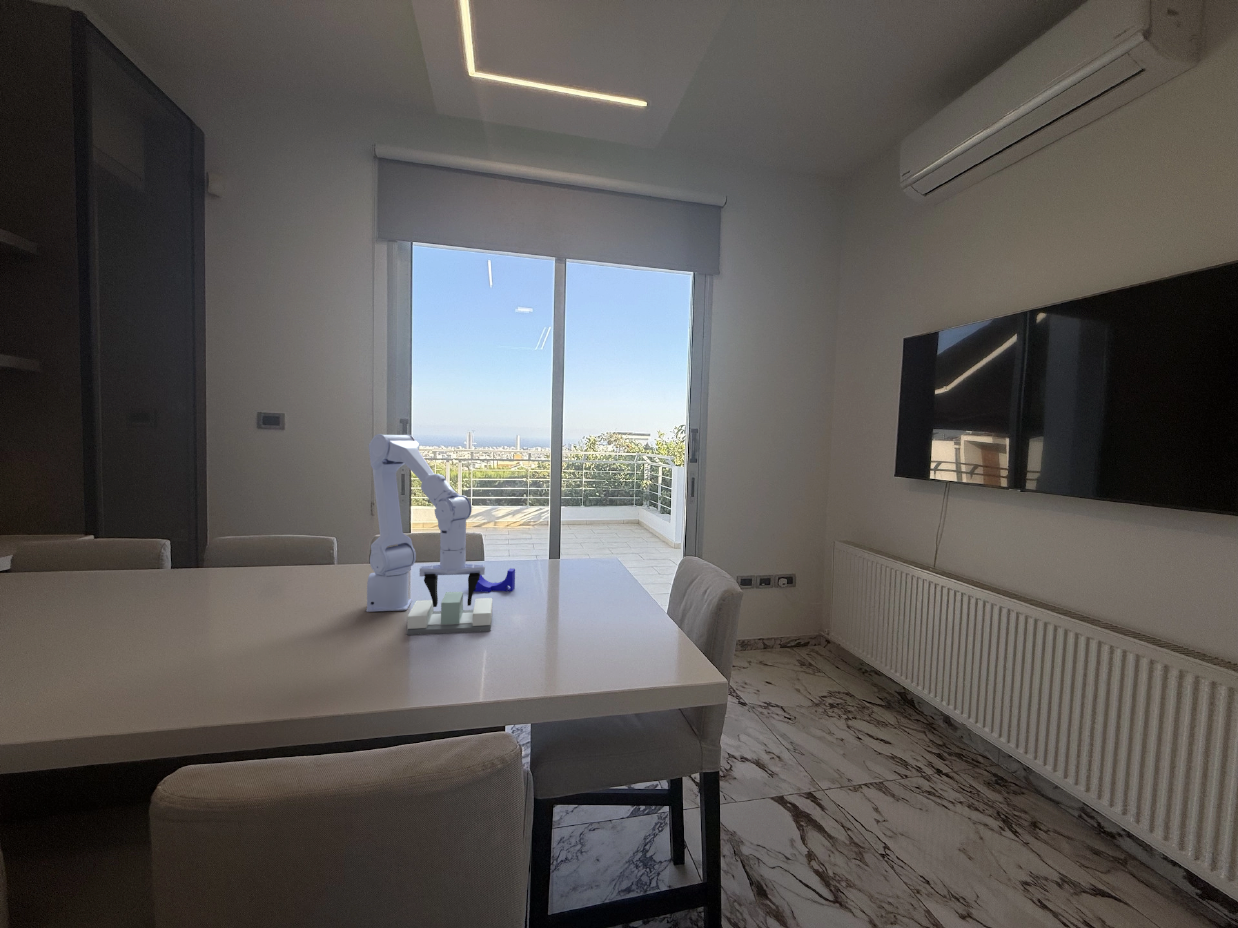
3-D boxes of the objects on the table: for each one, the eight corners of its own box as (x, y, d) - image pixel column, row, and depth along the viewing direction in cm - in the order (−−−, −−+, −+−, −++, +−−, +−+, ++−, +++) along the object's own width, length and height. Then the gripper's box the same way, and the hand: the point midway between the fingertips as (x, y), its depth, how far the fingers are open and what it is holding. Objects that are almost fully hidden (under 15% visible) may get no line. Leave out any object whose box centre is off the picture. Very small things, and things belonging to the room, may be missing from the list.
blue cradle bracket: (469, 591, 148) (469, 570, 148) (474, 587, 153) (474, 566, 153) (510, 593, 148) (511, 572, 148) (514, 588, 152) (515, 568, 152)
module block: (440, 624, 119) (441, 602, 119) (445, 612, 127) (445, 592, 127) (459, 623, 120) (459, 602, 120) (463, 611, 128) (463, 591, 128)
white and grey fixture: (407, 634, 116) (407, 617, 116) (416, 616, 128) (416, 599, 127) (490, 630, 120) (490, 613, 119) (492, 612, 131) (492, 597, 131)
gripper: (417, 552, 117) (417, 611, 118) (484, 551, 120) (483, 609, 121) (422, 545, 124) (422, 601, 125) (485, 544, 127) (484, 599, 128)
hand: (452, 604), depth 123 cm, fingers open, 7 cm apart
